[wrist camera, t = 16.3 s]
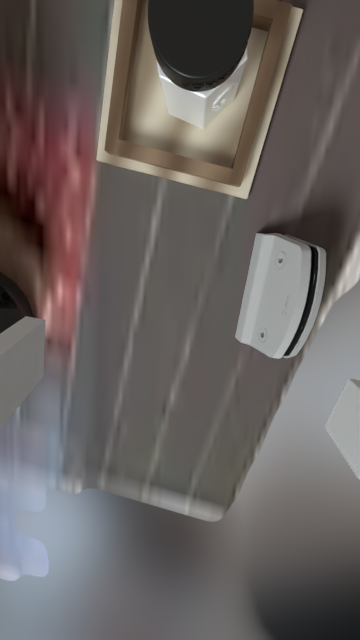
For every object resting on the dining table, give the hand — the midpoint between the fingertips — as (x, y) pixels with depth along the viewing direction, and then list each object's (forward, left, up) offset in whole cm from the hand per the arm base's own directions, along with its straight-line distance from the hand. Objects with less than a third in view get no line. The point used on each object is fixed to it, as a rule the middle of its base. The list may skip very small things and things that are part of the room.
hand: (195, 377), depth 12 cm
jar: (-5, +20, -29) cm, 36 cm away
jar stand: (-6, +20, -30) cm, 37 cm away
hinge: (+12, -1, -31) cm, 33 cm away
